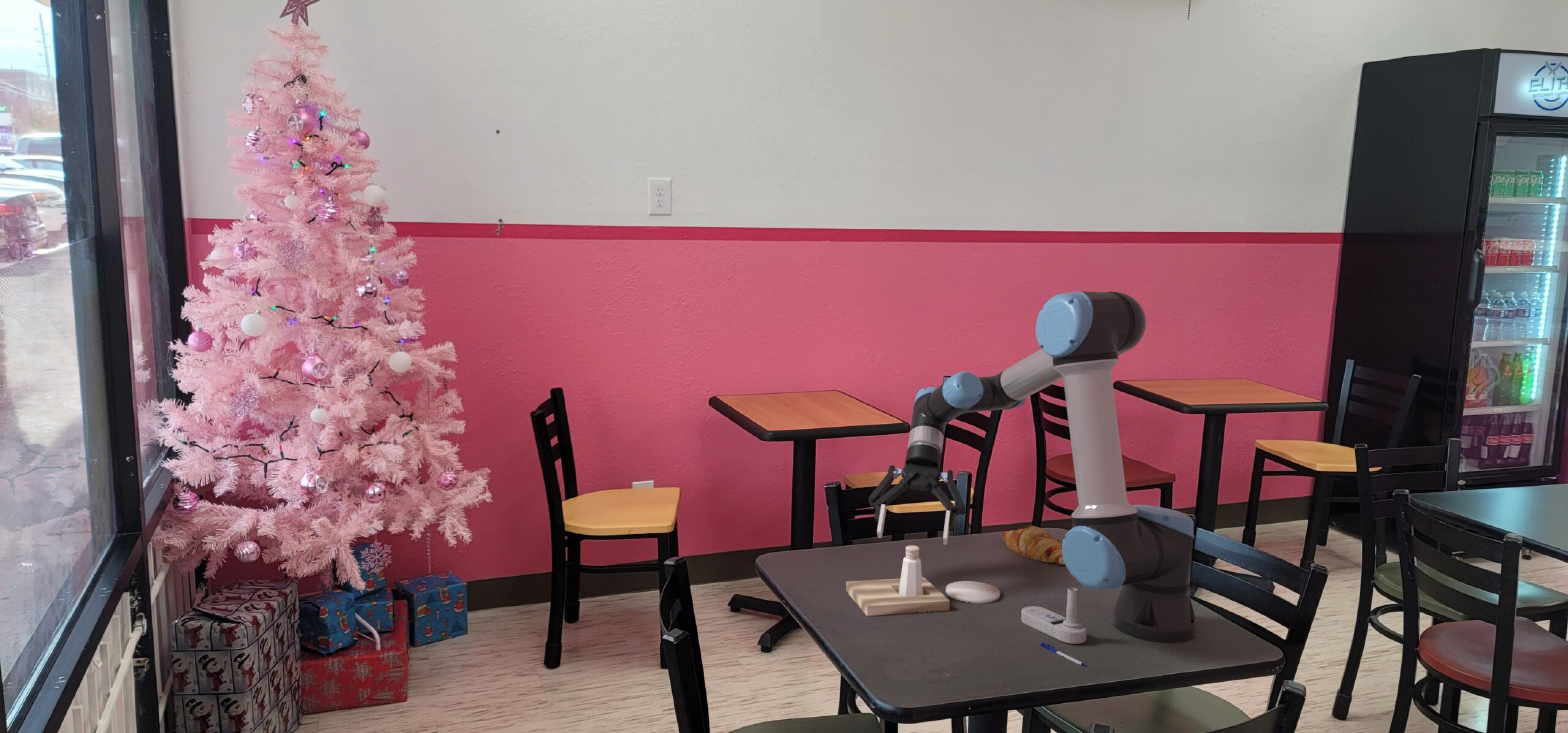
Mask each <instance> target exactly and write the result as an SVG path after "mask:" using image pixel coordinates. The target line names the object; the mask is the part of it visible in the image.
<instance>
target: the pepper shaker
mask: <svg viewBox="0 0 1568 733" xmlns="http://www.w3.org/2000/svg"><path fill="white" fill-rule="evenodd" d="M920 551H921V550H920V547H919V546H917V545H907V546H905V557H903V560H902V564H901V565H902V568H901V574H900V578H901V579H900V578H899V579H900V587H899V595H900V596H901V597H904V596H920V595H923V590H922V577H923V574H922V560H921V558H920V557H919V555H920Z"/></svg>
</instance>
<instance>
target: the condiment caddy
mask: <svg viewBox="0 0 1568 733" xmlns="http://www.w3.org/2000/svg"><path fill="white" fill-rule="evenodd" d="M900 579H901V577H900V578H887V579H885V578H884V579H869V580H852V581H851V580H850V581H846V583H845V592H846V593H847V592H848V593H847V594H848V596H850V598H851V599H852V600H853V601H854V603H855V604H856V605H857V606H858V607H859V608H860V609H861V610H862V612H863V613H864V614H865V615H866V616H867V617H872V616H884V615H885V616H888V615H900V614H901V615H903V614H915V613H916V612H918V613H930V612H932V611H933V612H945V611H950V603H951V602H950V600H949V599H948V597H946V596H945V595H944V594H943V593H942V592H941V591H940V590H939V589H937V587H935V586H934V585H933V584H932V583H931V582H930V581H929V580H928V579H927V578H925V577H923V576H922V590H923V595H920V596H904V597H901V596H900V595H899V587H900ZM927 611H928V612H927ZM916 614H917V613H916Z"/></svg>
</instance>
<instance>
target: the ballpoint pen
mask: <svg viewBox="0 0 1568 733" xmlns="http://www.w3.org/2000/svg"><path fill="white" fill-rule="evenodd" d="M1039 645H1040V647H1041V646H1042V647H1041V648H1043V647H1044V649H1045V648H1046V649H1045V650H1047V649H1048V651H1050V650H1051V651H1050V652H1052V651H1053V652H1052V653H1054V652H1055V653H1054V654H1056V653H1057V655H1058V654H1059V656H1060V655H1061V657H1062V656H1064V657H1065V658H1064V657H1063V658H1064V659H1067V660H1069V661H1071V662H1073V663H1075V664H1077V665H1079V664H1080V666H1081V665H1082V666H1081V667H1084V666H1086V667H1087V665H1086V664H1085V663H1084V662H1082V661H1080V660H1078V659H1076V658H1074V657H1072V656H1069V655H1068V654H1066V653H1063V652H1062V651H1059V649H1055V646H1052V645H1050V644H1048V643H1046V642H1041V643H1040V644H1039Z"/></svg>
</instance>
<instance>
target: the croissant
mask: <svg viewBox="0 0 1568 733" xmlns="http://www.w3.org/2000/svg"><path fill="white" fill-rule="evenodd" d="M1001 538H1002V540H1003V541H1004V542H1005V545H1006V546H1007V548H1008V549H1009V550H1010V549H1011V550H1010V551H1012V552H1013V553H1015V554H1016V555H1019V556H1021V557H1023V558H1025V557H1026V559H1028V558H1029V559H1028V560H1032V559H1033V560H1034V561H1037V562H1038V561H1039V562H1043V563H1051V564H1054V563H1055V564H1057V565H1060V566H1066V564H1065V562H1064V559H1063V554H1062V543H1063V542H1061V540H1060V539H1059V538H1054V537H1053V536H1052V535H1051V534H1050V532H1049V531H1048V530H1045V529H1043V528H1041V527H1038V526H1034V525H1030V526H1027V527H1025V528H1019V529H1017V530H1009V531H1008V530H1007V531H1005V530H1004V531H1002V532H1001Z"/></svg>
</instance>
